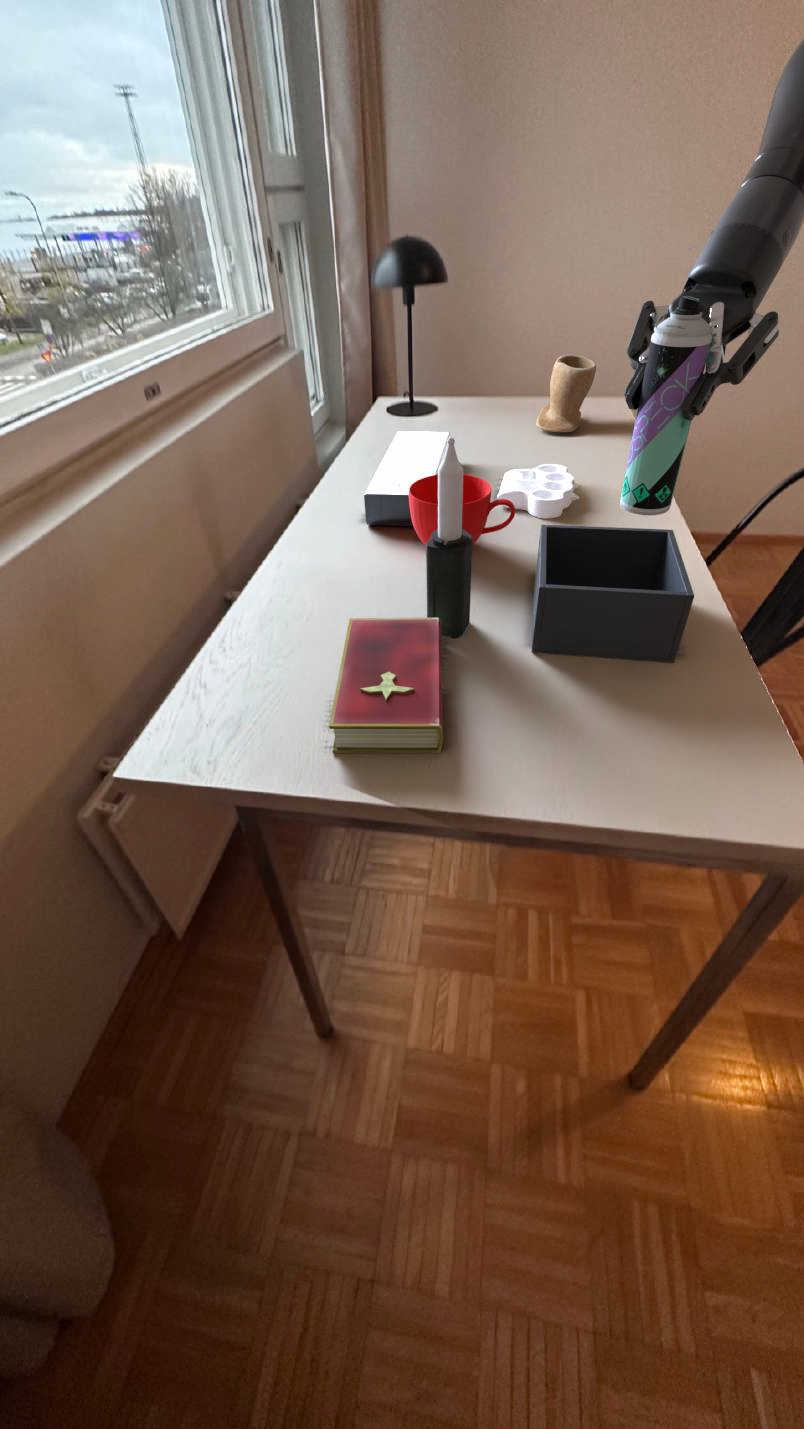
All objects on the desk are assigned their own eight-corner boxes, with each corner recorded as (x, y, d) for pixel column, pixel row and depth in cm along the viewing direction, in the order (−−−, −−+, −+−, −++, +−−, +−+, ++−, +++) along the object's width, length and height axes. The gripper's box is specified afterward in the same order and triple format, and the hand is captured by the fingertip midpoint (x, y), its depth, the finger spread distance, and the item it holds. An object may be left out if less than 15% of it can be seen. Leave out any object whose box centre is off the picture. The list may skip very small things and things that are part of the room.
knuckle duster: (506, 478, 127) (580, 482, 124) (494, 515, 114) (577, 520, 111) (507, 461, 125) (583, 465, 122) (495, 497, 112) (580, 502, 109)
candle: (424, 633, 86) (421, 443, 70) (437, 613, 90) (437, 429, 73) (460, 639, 84) (465, 447, 68) (471, 620, 88) (479, 432, 72)
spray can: (616, 496, 74) (653, 293, 61) (664, 495, 73) (713, 291, 60) (623, 515, 70) (665, 302, 57) (675, 515, 69) (729, 301, 56)
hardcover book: (441, 642, 84) (441, 615, 81) (442, 753, 68) (443, 724, 66) (352, 643, 85) (349, 616, 82) (333, 752, 69) (328, 724, 66)
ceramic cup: (504, 573, 98) (509, 511, 91) (400, 561, 102) (397, 501, 95) (518, 537, 107) (523, 478, 100) (422, 527, 111) (421, 470, 105)
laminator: (428, 530, 110) (428, 496, 106) (360, 528, 112) (357, 493, 108) (449, 462, 135) (450, 431, 131) (393, 460, 137) (392, 430, 133)
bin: (657, 591, 92) (673, 529, 86) (674, 663, 79) (694, 595, 73) (534, 585, 95) (541, 524, 88) (531, 652, 82) (539, 587, 75)
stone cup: (584, 438, 144) (595, 364, 134) (531, 435, 147) (538, 362, 137) (590, 418, 154) (601, 349, 144) (541, 415, 157) (549, 347, 148)
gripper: (822, 285, 61) (731, 445, 63) (682, 276, 69) (604, 418, 71) (824, 220, 55) (722, 400, 57) (670, 218, 63) (585, 376, 65)
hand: (657, 409), depth 64 cm, fingers closed on spray can, 5 cm apart
